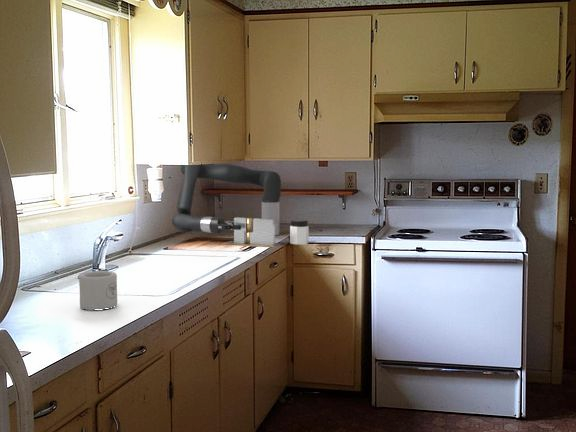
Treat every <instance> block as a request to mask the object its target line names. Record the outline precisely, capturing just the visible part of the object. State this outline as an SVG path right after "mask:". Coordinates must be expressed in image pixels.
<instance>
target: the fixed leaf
mask: <svg viewBox="0 0 576 432" xmlns="http://www.w3.org/2000/svg"><path fill="white" fill-rule="evenodd" d="M275 243H276V235H275V219H262V218H258V217H257V218H256V217H255V218H252V231H250V232H248V231H246V244H253V245H269V246H274V245H275Z"/></svg>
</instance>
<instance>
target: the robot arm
mask: <svg viewBox="0 0 576 432" xmlns="http://www.w3.org/2000/svg"><path fill="white" fill-rule="evenodd" d="M180 173H181V174H182V175H183V181H182V184H181V188H180V190H179V194H178V199H177V203H176V211H177V214H175V215H174V216H173V217H172V219H171V224H172V226H173V227H174V228H175V229H176V231H178V232H180V233H181V234H182V233H184V234H185V233H187V232H188V231H189V230H191V231H194V232H201V233H202V232H203V233H210V234H221V233H223V231H234V230H241V225H234V220H233V221H231V220H225V221H224V219H223V217H219V216H193V215H192V207H193V202H194V193H195V188H196V183H197V179H208V180H214V181H219V182H225V183H232V184H239V185H240V184H244V185H245V184H249V185H256V186H260V187H262V188H263V194H262V196H261V219H275V236H278V235H280V198H281V191H282V181H281V180H282V179H281V176H280V174H279V173H278V172H276V171H272V170H256V169H255V170H254V169H250V168H248V167H244V166H241V165H236V164H232V163H231V164H230V163H220V164H218V163H217V164H211V165H207V164H203V165H202V163H201V165H182V164H181V165H180Z"/></svg>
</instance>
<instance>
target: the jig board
mask: <svg viewBox="0 0 576 432" xmlns="http://www.w3.org/2000/svg"><path fill="white" fill-rule="evenodd" d="M220 245H224V246H225V245H226V246H241V247H259V248H276V247H277V246H281V243H276V242H275V245H274V246H269V245H253V244H235V243H234V240H230V241H226V242H223V243H220Z"/></svg>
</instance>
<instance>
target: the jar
mask: <svg viewBox="0 0 576 432" xmlns="http://www.w3.org/2000/svg"><path fill="white" fill-rule="evenodd" d="M309 231H310V229H309V220H308V219H300V218H299V219H298V218H297V219H291V220H290V226H289V244H291V245H308V244H309V239H310V238H309V233H310V232H309Z"/></svg>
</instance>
